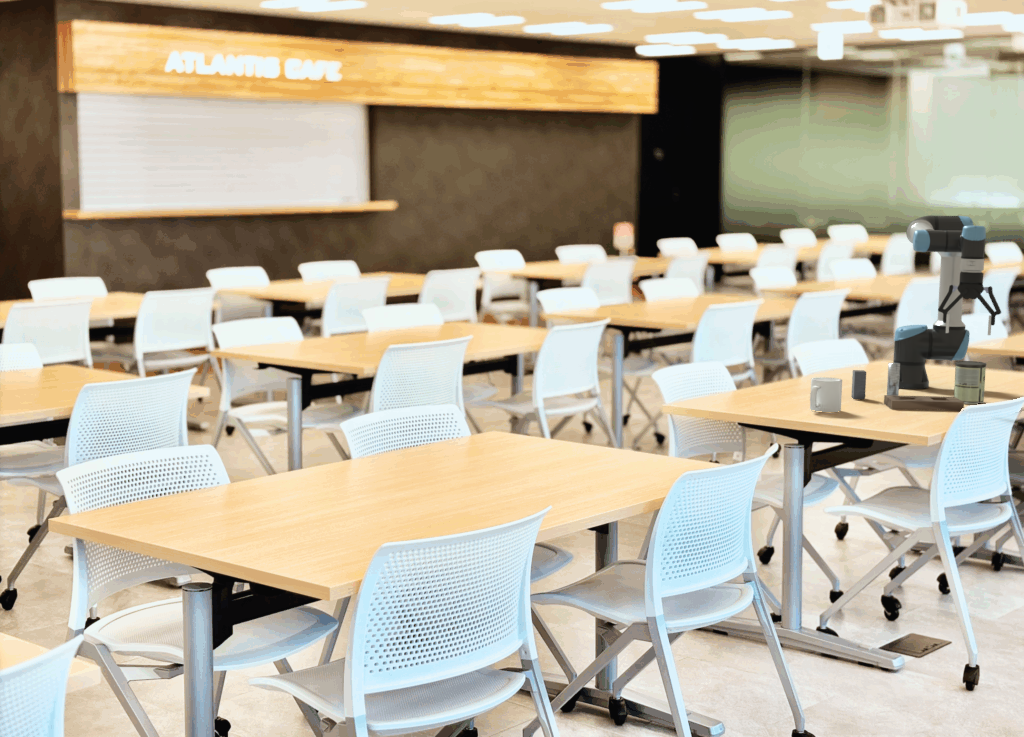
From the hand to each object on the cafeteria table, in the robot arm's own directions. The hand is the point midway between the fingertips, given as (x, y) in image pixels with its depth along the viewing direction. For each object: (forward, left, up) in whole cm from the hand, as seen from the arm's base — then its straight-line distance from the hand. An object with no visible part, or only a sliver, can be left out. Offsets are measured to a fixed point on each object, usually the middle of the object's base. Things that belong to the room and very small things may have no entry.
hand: (968, 333), depth 450 cm
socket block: (0, -14, -26) cm, 29 cm away
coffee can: (-14, +5, -26) cm, 30 cm away
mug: (+13, -50, -26) cm, 58 cm away
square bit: (-16, -33, -26) cm, 44 cm away
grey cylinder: (-16, -21, -26) cm, 36 cm away
